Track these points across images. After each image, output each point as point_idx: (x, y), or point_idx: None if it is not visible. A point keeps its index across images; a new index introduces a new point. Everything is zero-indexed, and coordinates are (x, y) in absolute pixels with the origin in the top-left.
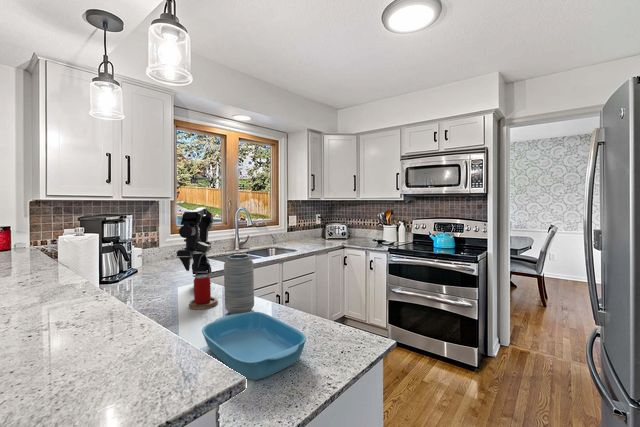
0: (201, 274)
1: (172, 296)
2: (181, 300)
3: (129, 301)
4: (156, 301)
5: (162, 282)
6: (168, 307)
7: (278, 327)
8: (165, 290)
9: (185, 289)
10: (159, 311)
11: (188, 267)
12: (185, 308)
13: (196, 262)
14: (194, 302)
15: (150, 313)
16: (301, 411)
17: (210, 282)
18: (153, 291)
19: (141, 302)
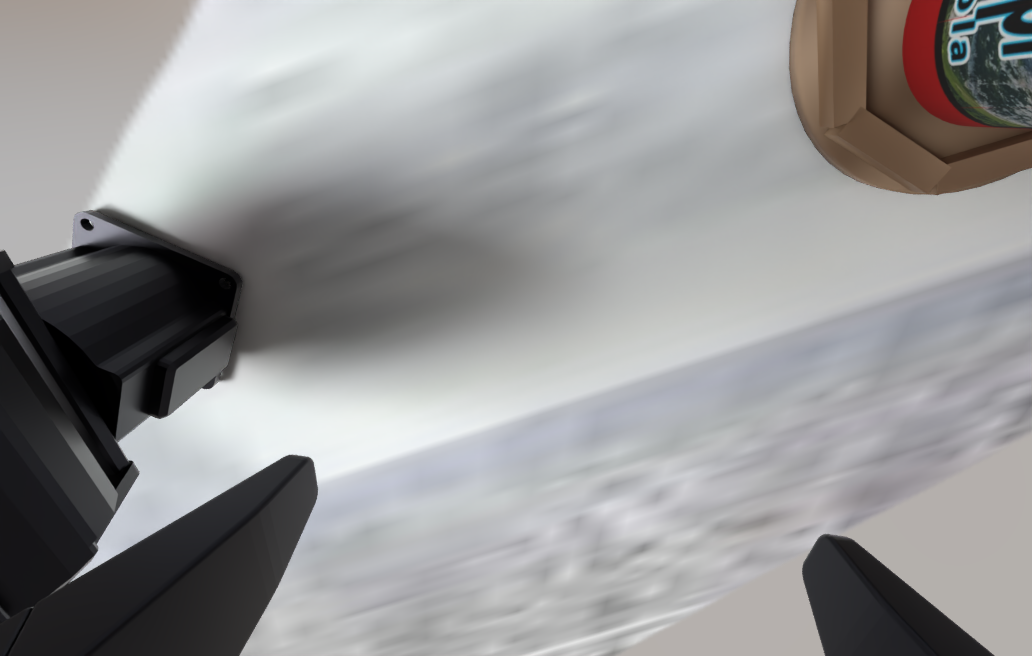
0: (94, 362)
1: (570, 442)
2: (712, 329)
3: (642, 634)
4: (685, 503)
5: None
6: (890, 369)
7: None
8: (400, 540)
9: (360, 410)
10: (970, 400)
11: (961, 642)
12: (1009, 197)
13: (200, 632)
14: (922, 141)
15: (987, 443)
16: None
17: (77, 222)
18: (429, 596)
19: (682, 576)
